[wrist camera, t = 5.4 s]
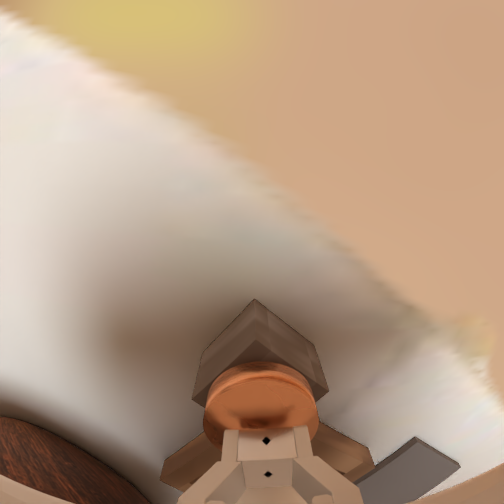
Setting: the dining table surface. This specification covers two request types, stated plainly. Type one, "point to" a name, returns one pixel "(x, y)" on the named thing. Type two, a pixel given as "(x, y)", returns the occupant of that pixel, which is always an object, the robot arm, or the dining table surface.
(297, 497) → the cylinder
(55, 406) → the dining table surface
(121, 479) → the wooden bowl
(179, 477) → the square wooden frame
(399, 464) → the pad
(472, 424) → the dining table surface
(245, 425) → the plunger
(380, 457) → the dining table surface
